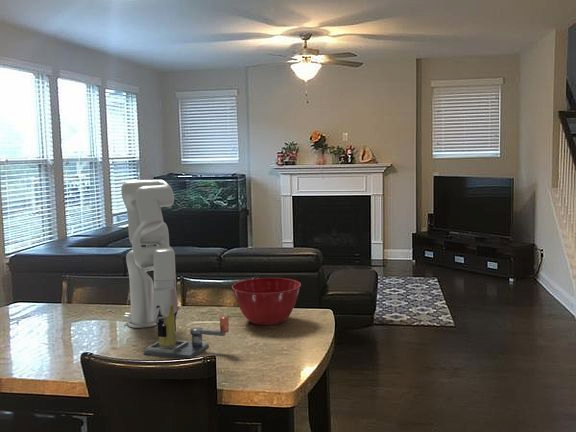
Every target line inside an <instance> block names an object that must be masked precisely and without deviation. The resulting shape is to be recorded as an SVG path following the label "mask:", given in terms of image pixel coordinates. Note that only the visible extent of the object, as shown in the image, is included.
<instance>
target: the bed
mask: <svg viewBox="0 0 576 432" xmlns="http://www.w3.org/2000/svg"><path fill="white" fill-rule="evenodd" d="M209 345H210V344H209V343H208V342H207V343H206V342H203V334H201V335H191V341H188V340H177V339H176V344H175V345H173V346H167V347H164V346H160V345H159V340H157V341H156V342H155V343H153V344H151V345H149V346H147V347H146V349H145V350H143V355H147V356H155V357H156V356H157V357H166V358H167V357H168V358H179V359H185V358H191V359H192V358H194V357H195V356H196V355H198V354H199V353H202V351H204V350H205V349H207V348H208V347H209Z"/></svg>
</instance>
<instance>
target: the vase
mask: <svg viewBox="0 0 576 432" xmlns="http://www.w3.org/2000/svg"><path fill="white" fill-rule="evenodd" d="M160 317H162V315H160ZM160 320H161V321H163V319H160ZM165 326H166V331H167V336H166V337H158V341H159V345H160V346H164V347H167V346H173V345H175V344H176V340H177V339H176V338H177V337H176V332H175V322H174V310H173V305H171V306H170V313H169V316H168V317H166V322H165Z"/></svg>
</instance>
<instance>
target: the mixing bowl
mask: <svg viewBox="0 0 576 432" xmlns="http://www.w3.org/2000/svg"><path fill="white" fill-rule="evenodd" d="M301 286H302V284H301V282H300V281H298V280H296V279H291V278H283V277H258V278H249V279H244V280H241V281H237V282H235V283H234V284H233V285H231V288H232V290H233V293H234V297H235V300H236V303H237V305H238V308H239V309H240V311H241V313H242V314H243V316H244V317H245V318H246V319H247V320H248V322H251V323H252V324H254V325H258V326H274V325H278V324H281V323H283V322H284V321H286V320H287V319H288V318H289V317H290V316H291V313H292V312H293V309H294V308H295V305H296V303H297V300H298V296H299V293H300V288H301Z"/></svg>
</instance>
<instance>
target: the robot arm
mask: <svg viewBox="0 0 576 432" xmlns="http://www.w3.org/2000/svg"><path fill="white" fill-rule="evenodd" d="M120 193H121V198H122V201H123V204H124V206H125V208H126V211H127V225H128V238H129V242H130V244H131V250H129V251H128V252H127V253H126V255H125V257H126V258H125V261H126V265H127V266H126V267H127V271H128V277H129V294H130V295H129V298H130V299H129V300H130V312H125V313H124V315H123V319H126V320H128V321H127V326H128V327H130V328H135V329H145V328H150V327H151V328H152V327H155V326H157V336H158V338H159V337H166V336H167V331H166V326H165V322H166V317H168V316H169V313H170V306H171V305H173V310H174V322H175V333H176V331H177V325H176V324H177V323H176V322H177V315H178V312H179V306H178V303H179V302H178V293H177V279H176V278H177V277H176V276H177V275H176V273H177V272H176V253H175V250H174V249H173V247H172V246H170V234H169V228H168V225H167V223H166V222H164V217H163V213H162V208H168V207H172V206H173V205H174V202H175V194H174V191H173V189H172V187H171V185H170V184H169V183H167V182H166V181H165V180H163V179H137V180H128V181H126V182H124V183H123V184H122V185H121V191H120ZM143 245H144V246H143ZM146 245H149V246H146ZM150 245H151V246H150ZM151 271H153V278H152V277H151V276H150V275H149V274H148V272H151ZM160 315H162V317H160ZM160 319H163V321H161V320H160Z"/></svg>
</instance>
